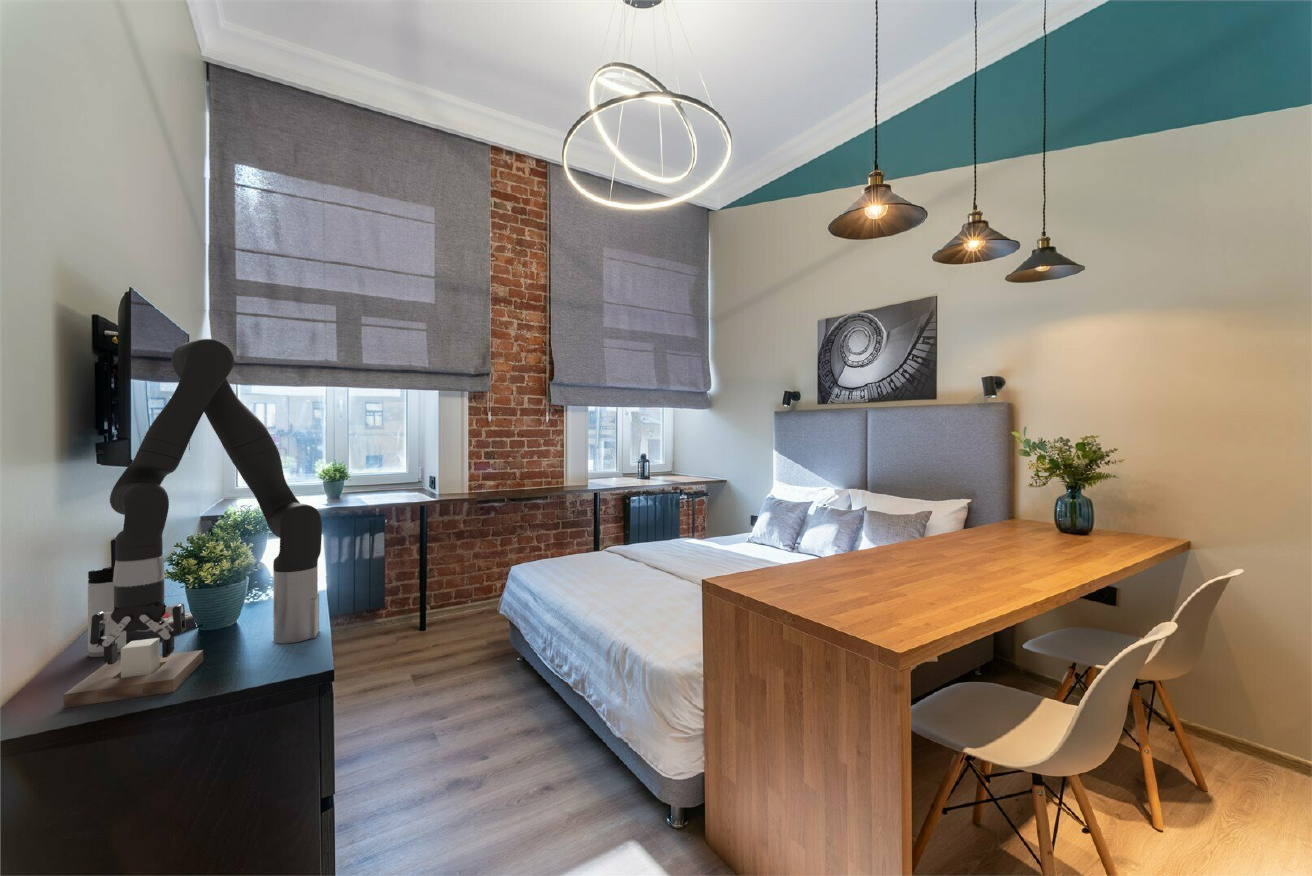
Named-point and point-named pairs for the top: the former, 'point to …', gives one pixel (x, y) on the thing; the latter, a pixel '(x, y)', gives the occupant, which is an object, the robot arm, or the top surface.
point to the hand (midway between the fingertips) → (139, 659)
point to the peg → (140, 657)
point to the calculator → (151, 634)
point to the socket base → (133, 681)
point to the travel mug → (102, 606)
